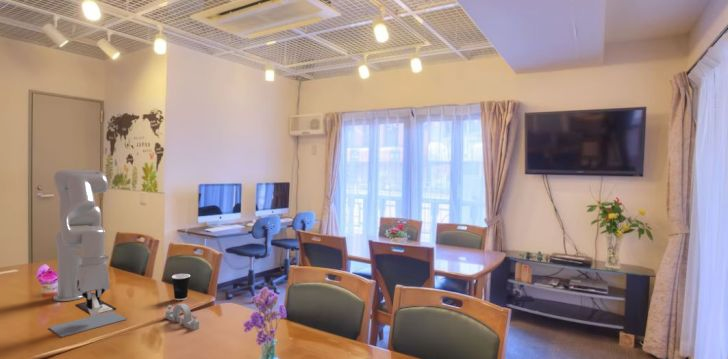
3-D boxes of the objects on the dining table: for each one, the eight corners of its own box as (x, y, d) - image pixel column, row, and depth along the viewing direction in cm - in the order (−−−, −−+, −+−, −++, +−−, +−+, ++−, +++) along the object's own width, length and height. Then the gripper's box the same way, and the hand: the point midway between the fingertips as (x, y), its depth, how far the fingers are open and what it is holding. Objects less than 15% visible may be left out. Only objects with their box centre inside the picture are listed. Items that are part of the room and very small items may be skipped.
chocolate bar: (98, 299, 185) (116, 308, 174) (98, 301, 185) (116, 310, 175) (75, 304, 178) (92, 313, 167) (75, 306, 178) (92, 316, 167)
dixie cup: (171, 302, 184) (171, 278, 184) (171, 297, 192) (172, 274, 191) (190, 301, 187) (190, 277, 187) (190, 295, 195) (190, 273, 194)
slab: (85, 302, 160) (89, 293, 158) (90, 301, 162) (94, 292, 159) (91, 317, 157) (95, 307, 155) (96, 316, 159) (100, 306, 156)
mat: (48, 328, 153) (48, 327, 153) (112, 312, 171) (112, 311, 171) (61, 337, 146) (61, 336, 146) (126, 319, 163) (126, 318, 163)
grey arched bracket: (165, 319, 166) (165, 300, 166) (171, 317, 168) (171, 298, 168) (193, 331, 155) (193, 310, 155) (198, 329, 157) (199, 309, 157)
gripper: (110, 256, 166) (110, 300, 167) (65, 262, 154) (65, 311, 154) (119, 258, 162) (119, 304, 162) (73, 265, 149) (73, 315, 150)
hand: (93, 307), depth 158 cm, fingers closed on slab, 1 cm apart
